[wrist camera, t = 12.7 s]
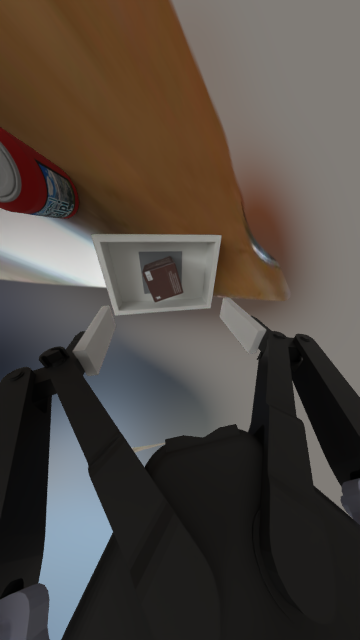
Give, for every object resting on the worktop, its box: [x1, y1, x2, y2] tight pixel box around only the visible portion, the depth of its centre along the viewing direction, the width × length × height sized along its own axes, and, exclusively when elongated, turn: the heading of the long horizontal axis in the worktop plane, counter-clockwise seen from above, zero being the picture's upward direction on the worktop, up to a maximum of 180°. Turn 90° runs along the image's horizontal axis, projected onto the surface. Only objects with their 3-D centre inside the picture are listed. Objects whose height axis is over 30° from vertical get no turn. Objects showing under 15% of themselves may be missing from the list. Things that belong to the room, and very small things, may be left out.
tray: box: [91, 234, 222, 315], centre depth 29 cm, size 22×15×5 cm
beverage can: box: [0, 127, 79, 219], centre depth 17 cm, size 7×7×12 cm
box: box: [142, 256, 183, 303], centre depth 27 cm, size 6×6×7 cm
